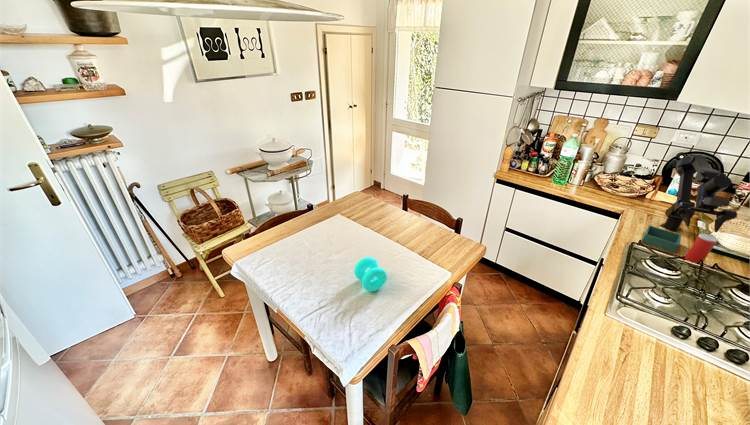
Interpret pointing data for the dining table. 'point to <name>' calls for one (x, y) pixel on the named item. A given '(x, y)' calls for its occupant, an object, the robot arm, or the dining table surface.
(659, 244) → the bin
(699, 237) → the chip canister
